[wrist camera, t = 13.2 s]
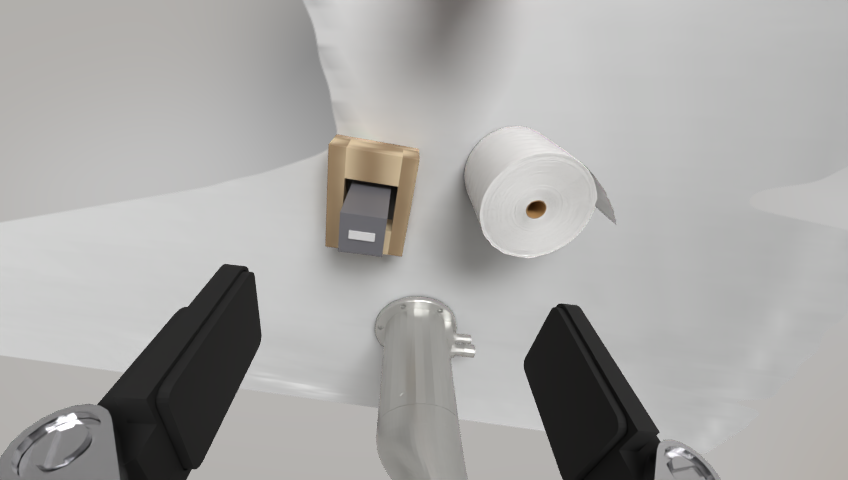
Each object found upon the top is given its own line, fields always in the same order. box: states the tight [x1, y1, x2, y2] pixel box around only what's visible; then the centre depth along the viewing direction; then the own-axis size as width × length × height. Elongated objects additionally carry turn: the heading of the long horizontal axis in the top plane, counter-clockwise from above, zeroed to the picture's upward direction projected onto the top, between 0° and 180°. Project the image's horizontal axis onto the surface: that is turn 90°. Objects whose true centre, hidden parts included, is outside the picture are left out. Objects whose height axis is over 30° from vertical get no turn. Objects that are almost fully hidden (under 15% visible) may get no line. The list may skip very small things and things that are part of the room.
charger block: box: [338, 180, 391, 257], centre depth 33 cm, size 4×4×9 cm
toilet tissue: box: [464, 126, 616, 258], centre depth 33 cm, size 11×12×10 cm
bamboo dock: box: [325, 135, 419, 256], centre depth 37 cm, size 9×12×4 cm
